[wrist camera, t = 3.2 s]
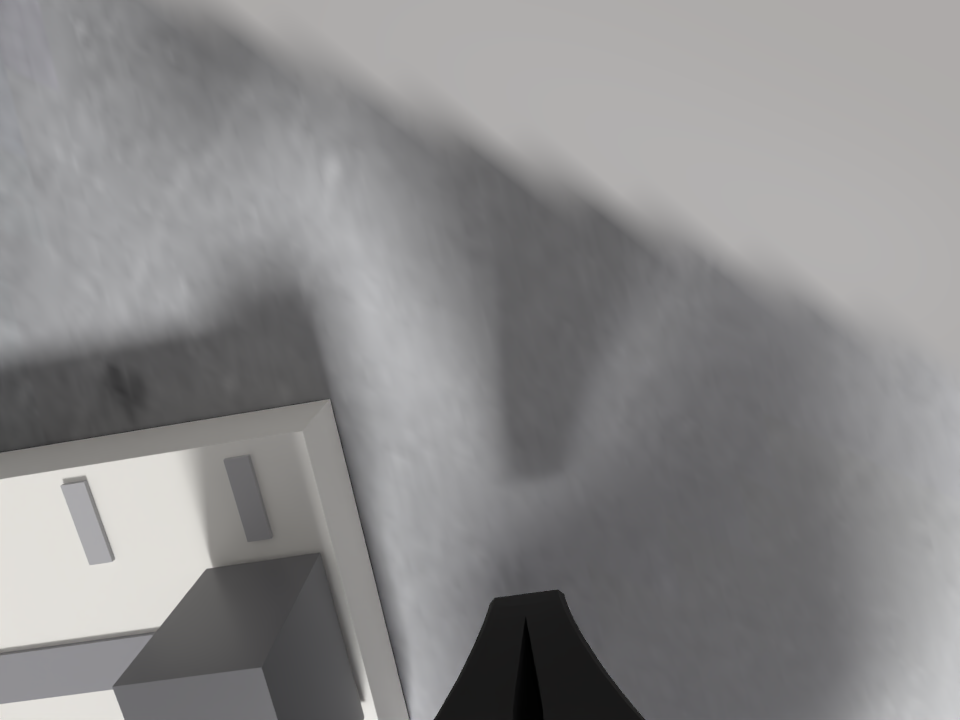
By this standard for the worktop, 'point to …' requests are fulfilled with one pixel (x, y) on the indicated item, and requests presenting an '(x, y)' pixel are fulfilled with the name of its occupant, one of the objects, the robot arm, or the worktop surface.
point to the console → (170, 549)
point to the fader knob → (246, 650)
